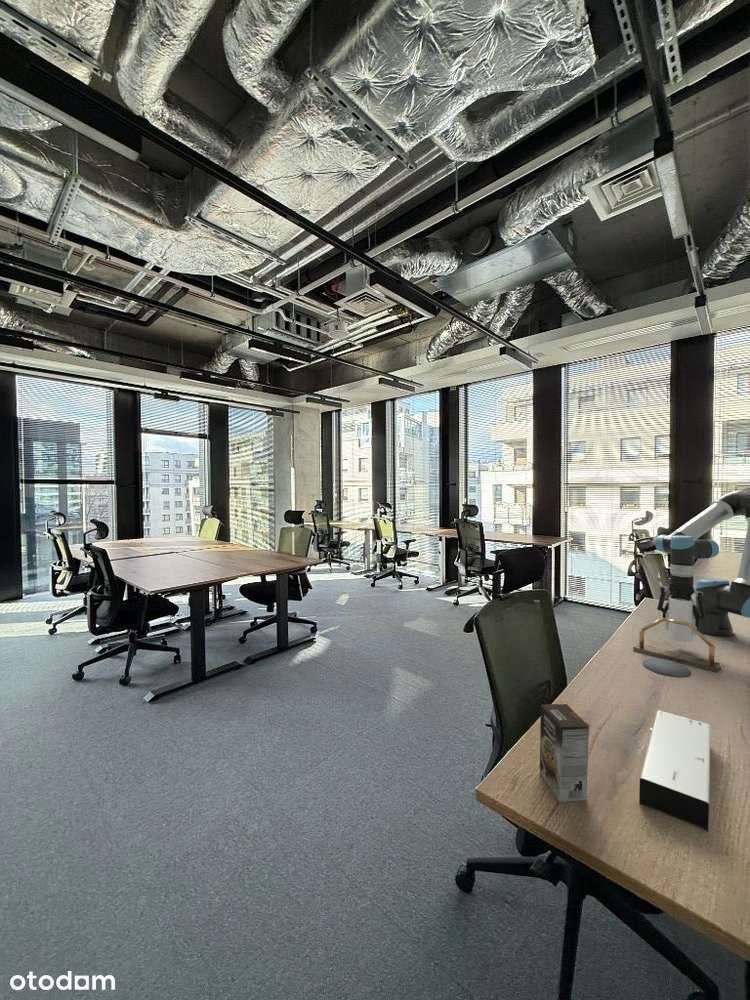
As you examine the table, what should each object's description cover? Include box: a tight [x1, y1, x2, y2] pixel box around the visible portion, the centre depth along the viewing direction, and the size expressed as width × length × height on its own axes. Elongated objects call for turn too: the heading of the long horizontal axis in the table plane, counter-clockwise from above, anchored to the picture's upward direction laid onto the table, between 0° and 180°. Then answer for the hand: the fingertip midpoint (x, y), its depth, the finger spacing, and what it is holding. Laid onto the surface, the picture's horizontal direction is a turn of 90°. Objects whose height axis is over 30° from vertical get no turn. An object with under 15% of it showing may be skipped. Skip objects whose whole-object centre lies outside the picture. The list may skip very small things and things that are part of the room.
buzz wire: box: [632, 617, 721, 673], centre depth 160 cm, size 6×26×15 cm, turn 43°
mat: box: [642, 657, 691, 678], centre depth 152 cm, size 14×14×1 cm
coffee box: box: [539, 703, 590, 803], centre depth 92 cm, size 9×6×16 cm
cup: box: [667, 594, 695, 643], centre depth 169 cm, size 8×8×16 cm
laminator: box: [638, 709, 711, 832], centre depth 97 cm, size 34×12×6 cm, turn 141°
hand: (680, 631), depth 169 cm, fingers closed on cup, 8 cm apart
